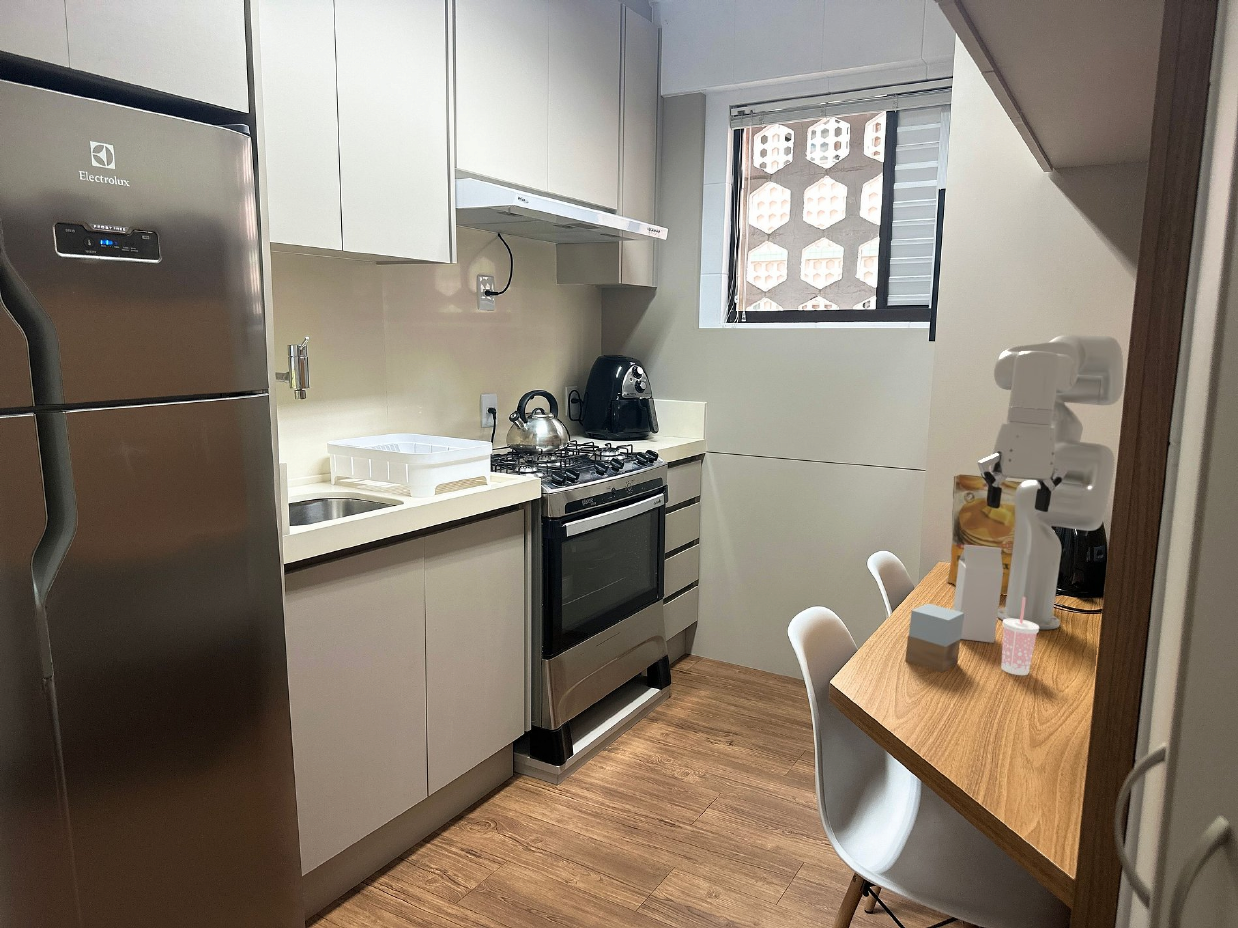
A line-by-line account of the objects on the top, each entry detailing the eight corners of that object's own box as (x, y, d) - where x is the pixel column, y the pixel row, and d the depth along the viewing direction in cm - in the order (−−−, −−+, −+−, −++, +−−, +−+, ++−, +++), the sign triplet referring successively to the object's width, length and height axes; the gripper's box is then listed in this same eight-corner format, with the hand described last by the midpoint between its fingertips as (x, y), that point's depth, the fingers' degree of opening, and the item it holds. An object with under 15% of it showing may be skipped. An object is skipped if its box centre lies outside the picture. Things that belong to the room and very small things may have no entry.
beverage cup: (1037, 671, 155) (1047, 598, 153) (1026, 679, 151) (1036, 604, 149) (1004, 661, 160) (1013, 590, 157) (991, 668, 155) (1000, 596, 153)
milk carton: (994, 643, 169) (1005, 552, 167) (957, 639, 171) (968, 548, 168) (986, 632, 176) (997, 544, 173) (950, 628, 178) (961, 540, 175)
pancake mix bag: (944, 578, 218) (957, 472, 214) (1024, 593, 208) (1039, 482, 204) (938, 583, 213) (951, 474, 209) (1019, 599, 202) (1034, 485, 198)
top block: (925, 628, 161) (927, 603, 160) (961, 638, 156) (964, 612, 156) (908, 635, 156) (911, 610, 155) (945, 646, 151) (948, 620, 151)
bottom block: (921, 652, 162) (924, 628, 161) (957, 663, 157) (960, 638, 156) (905, 661, 157) (907, 635, 156) (941, 673, 152) (944, 646, 151)
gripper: (1059, 420, 160) (1047, 508, 162) (975, 413, 158) (963, 502, 160) (1085, 423, 153) (1072, 515, 154) (997, 415, 151) (984, 509, 152)
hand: (1017, 509), depth 157 cm, fingers open, 9 cm apart
